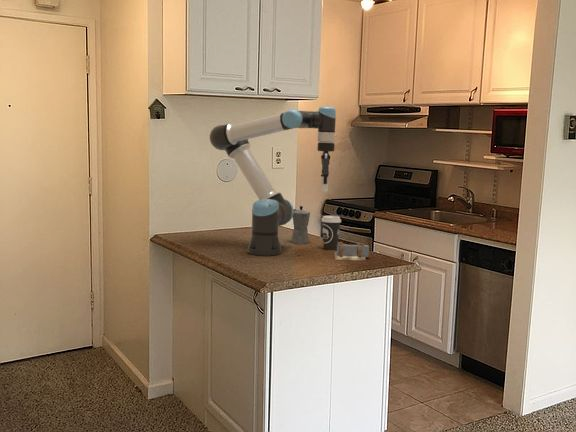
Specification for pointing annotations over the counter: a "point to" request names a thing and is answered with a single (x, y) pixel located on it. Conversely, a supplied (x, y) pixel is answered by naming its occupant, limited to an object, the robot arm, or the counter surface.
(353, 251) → the grey metal bar
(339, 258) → the rack
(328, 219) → the coffee cup
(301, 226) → the coffeepot
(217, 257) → the counter surface
